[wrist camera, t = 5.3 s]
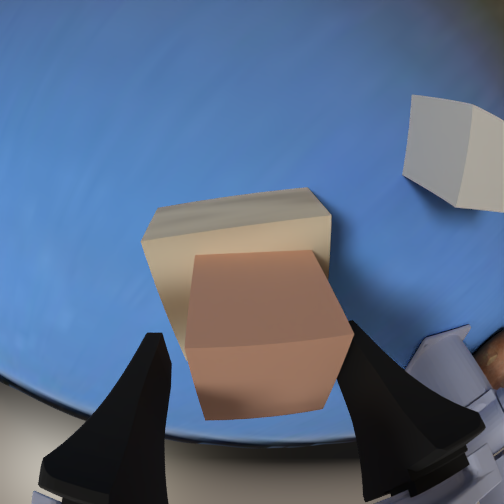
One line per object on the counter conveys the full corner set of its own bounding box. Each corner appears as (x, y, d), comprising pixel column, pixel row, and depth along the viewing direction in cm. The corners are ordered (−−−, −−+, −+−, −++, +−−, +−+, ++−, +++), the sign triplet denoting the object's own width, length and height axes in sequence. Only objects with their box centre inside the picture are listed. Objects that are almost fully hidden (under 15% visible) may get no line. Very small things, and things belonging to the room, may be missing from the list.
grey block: (453, 182, 15) (503, 212, 11) (401, 174, 15) (455, 207, 10) (464, 113, 12) (520, 130, 8) (410, 94, 12) (472, 104, 8)
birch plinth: (305, 298, 19) (322, 341, 15) (190, 314, 19) (186, 360, 15) (305, 185, 15) (331, 215, 11) (158, 205, 14) (140, 241, 11)
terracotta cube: (299, 329, 15) (322, 408, 10) (205, 335, 14) (205, 420, 10) (311, 249, 12) (354, 333, 8) (195, 254, 12) (184, 348, 7)
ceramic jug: (440, 369, 29) (481, 450, 17) (513, 299, 24) (566, 369, 12) (456, 390, 36) (484, 446, 24) (511, 340, 32) (545, 392, 20)
